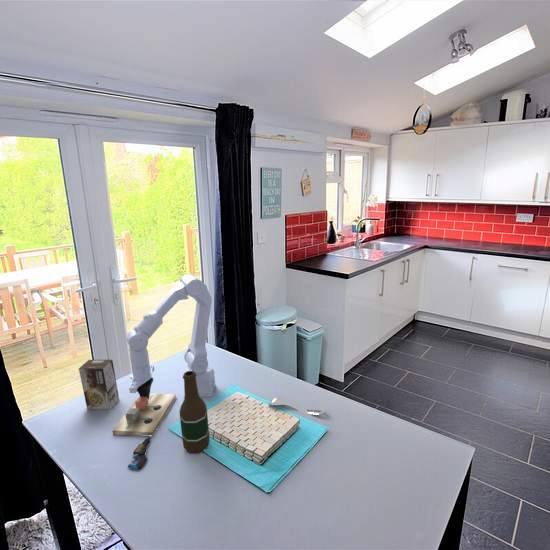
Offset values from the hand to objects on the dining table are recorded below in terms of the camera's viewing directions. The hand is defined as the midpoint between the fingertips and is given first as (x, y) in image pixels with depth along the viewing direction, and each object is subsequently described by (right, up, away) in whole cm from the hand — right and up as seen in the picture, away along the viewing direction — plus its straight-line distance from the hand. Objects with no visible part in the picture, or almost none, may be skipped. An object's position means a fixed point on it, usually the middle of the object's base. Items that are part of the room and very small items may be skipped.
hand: (145, 399), depth 126 cm
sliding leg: (+2, -2, -3) cm, 3 cm away
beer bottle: (+22, -8, -18) cm, 29 cm away
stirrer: (+52, -3, -3) cm, 52 cm away
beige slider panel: (+2, -4, -3) cm, 6 cm away
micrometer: (+7, -9, -21) cm, 24 cm away
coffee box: (-16, -3, +3) cm, 17 cm away
